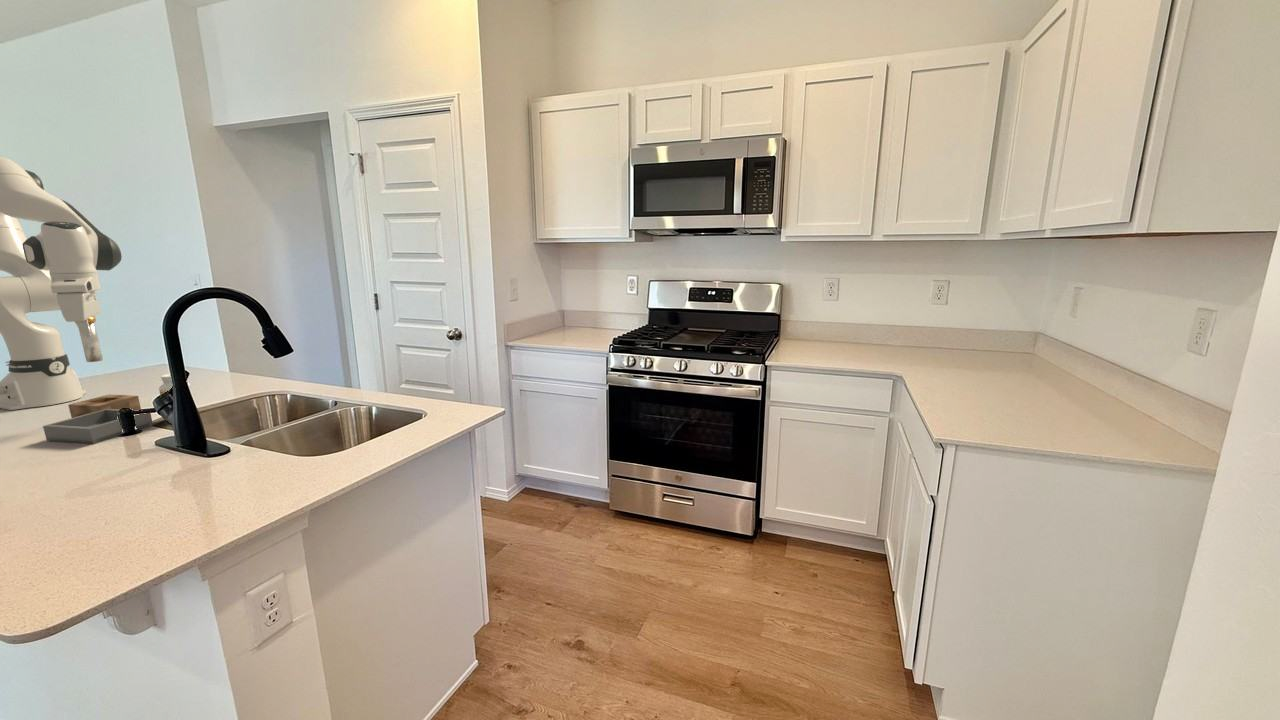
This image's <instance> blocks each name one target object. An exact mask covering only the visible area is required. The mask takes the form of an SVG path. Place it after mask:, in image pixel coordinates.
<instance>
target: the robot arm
mask: <svg viewBox="0 0 1280 720" xmlns="http://www.w3.org/2000/svg"><path fill="white" fill-rule="evenodd" d="M18 219H19V220H22V221H23V220H24V221H33V222H38V223H42V224H41V225H40V233H38V234H37V235H31V236H29V237H28V238H27V236H26V233H25V231H24V229H23V227H22V226H21V224H20V221H19V220H18ZM122 258H123V256H122V252H121V249H120V247H119V246H118V244H117V243H116V241H114V240H113V239H112V238H111V237H109V236H108V235H106V234H105V233H103V232H101V231H100V230H99V229H98V228H97V227H96V226H95V225H94V224H92V222H90V220H88V219H87V218H86V217H85V216H84V215H83V214H82V213H81V212H80V211H79V210H77V209H76V208H75V207H74V206H73V205H71V204H70V203H69V202H67V201H66V200H63V199H61V198H58V197H57V196H55V195H52V194H50V193H49V192H48V191H46V190H45V186H44V184H43V181H42V179H41V178H40V177H39V175H37V174H36V173H35V172H33V171H31V170H27V169H24V168H23V167H21V165H20V164H18V163H17V162H15V161H13V160H12V159H9V158H7V157H3V156H0V271H2V272H5V273H8V274H9V275H12V276H0V334H1V336H2V338H3V341H4V343H5V345H6V348H7V351H8V353H9V358H10V360H9V361H5V364H6V365H5V366H8V372H9V373H7V374H6V375H5V376H4V377H3V378H2V379H1V380H0V409H2V410H3V409H4V410H8V411H13V410H14V411H15V410H21V409H28V408H37V407H46V406H51V405H57V404H62V403H67V402H72V401H75V400H78V399H81V398H83V397H84V395H86V394H87V390H86V389H82V386H81V384H80V381H79V378H78V376H77V373H76V371H75V370H74V369H72V368H71V367H70V365H71V363H70V357H68V354H66V353H65V350H64V349H65V348H64V346H63V341H62V336H61V334H60V332H59V330H58V329H56V328H55V327H52V326H50V325H47V324H43V323H39V322H35V321H31V320H29V319H28V317H27V316H26V314H28V313H38V312H39V313H41V312H51V311H52V312H53V311H61V314H62V317H63V319H64V320H65V321H66V322H68V323H72V322H73V323H75V322H76V323H75V325H76V326H77V328H78V331H79V330H80V332H79V335H80V334H81V335H82V336H86V335H90V334H91V330H90V328H89V325H88V319H89V318H91V317H96V316H97V315H99V314H101V307H100V302H99V300H98V295H97V292H96V291H97V290H98V291H99V290H101V289H102V286H101V283H100V279H99V278H100V276H99V273H98V271H111V270H112V269H114V268H115V267H117V266H118V265H119V264H120V263H121V261H122ZM7 363H8V364H7Z"/></svg>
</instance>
